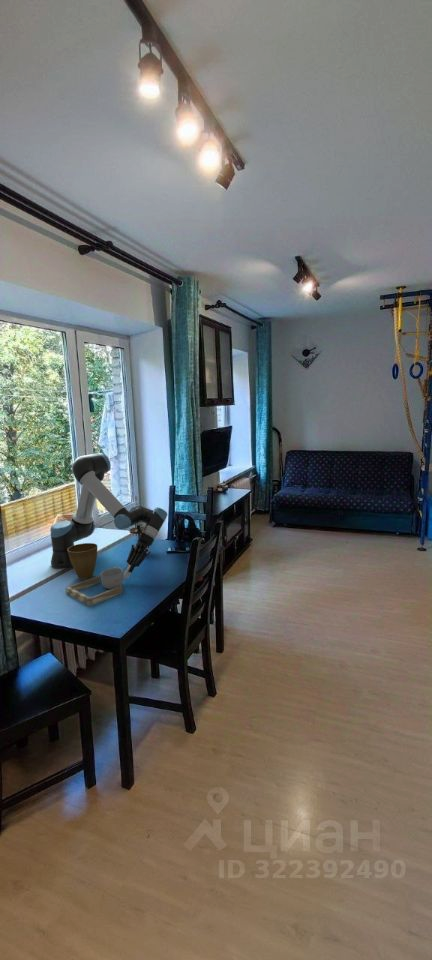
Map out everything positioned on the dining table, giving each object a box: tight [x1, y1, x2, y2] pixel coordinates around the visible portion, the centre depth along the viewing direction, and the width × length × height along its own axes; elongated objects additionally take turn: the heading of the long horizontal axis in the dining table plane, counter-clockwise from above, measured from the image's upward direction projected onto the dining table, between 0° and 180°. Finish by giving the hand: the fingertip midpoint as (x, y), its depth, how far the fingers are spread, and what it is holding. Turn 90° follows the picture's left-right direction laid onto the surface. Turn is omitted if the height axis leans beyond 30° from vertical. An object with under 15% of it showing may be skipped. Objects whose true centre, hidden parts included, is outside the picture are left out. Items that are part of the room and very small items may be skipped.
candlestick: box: [128, 495, 145, 543], centre depth 263 cm, size 11×11×35 cm
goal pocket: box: [65, 575, 124, 607], centre depth 213 cm, size 21×18×3 cm
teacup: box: [99, 566, 125, 590], centre depth 220 cm, size 14×11×8 cm
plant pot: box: [67, 542, 98, 580], centre depth 233 cm, size 15×15×16 cm
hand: (124, 577), depth 222 cm, fingers closed
